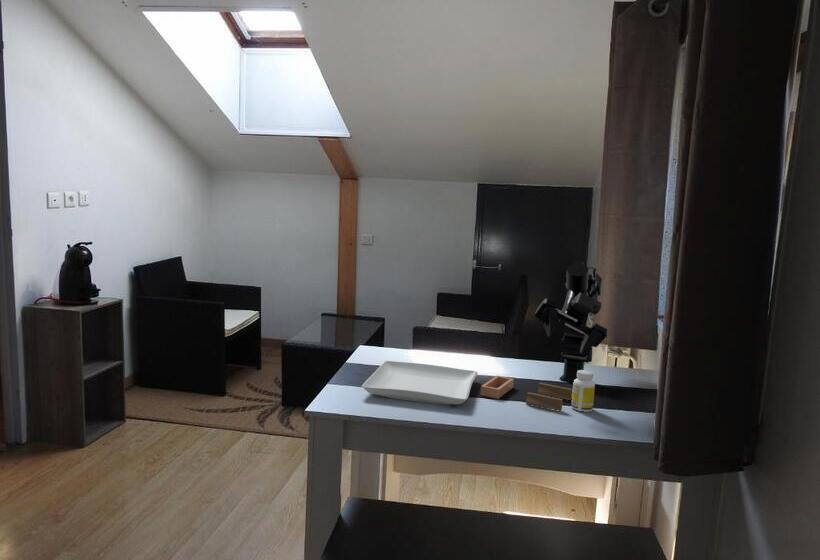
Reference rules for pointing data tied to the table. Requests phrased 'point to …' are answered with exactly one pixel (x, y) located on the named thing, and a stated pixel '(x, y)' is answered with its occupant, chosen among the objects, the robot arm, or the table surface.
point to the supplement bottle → (583, 391)
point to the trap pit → (497, 387)
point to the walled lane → (547, 400)
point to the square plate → (421, 382)
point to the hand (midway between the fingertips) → (565, 344)
